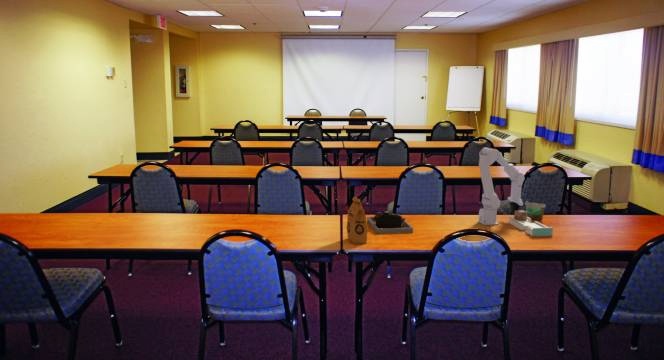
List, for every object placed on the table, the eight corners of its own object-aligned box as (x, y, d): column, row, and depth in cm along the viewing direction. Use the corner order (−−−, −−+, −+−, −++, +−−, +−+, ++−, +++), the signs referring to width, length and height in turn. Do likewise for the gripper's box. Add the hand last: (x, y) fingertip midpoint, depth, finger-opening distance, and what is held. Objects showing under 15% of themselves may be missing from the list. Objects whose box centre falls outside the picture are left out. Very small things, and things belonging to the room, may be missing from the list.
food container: (520, 217, 310) (521, 201, 308) (525, 216, 314) (526, 200, 312) (539, 221, 301) (541, 205, 299) (544, 220, 305) (546, 203, 303)
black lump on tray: (404, 225, 292) (404, 208, 291) (405, 231, 280) (405, 213, 278) (372, 224, 294) (373, 207, 292) (372, 230, 282) (373, 212, 280)
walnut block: (518, 220, 293) (518, 212, 292) (514, 218, 298) (514, 210, 297) (526, 220, 294) (527, 212, 293) (522, 218, 298) (522, 210, 298)
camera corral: (377, 233, 275) (377, 229, 274) (367, 220, 300) (367, 216, 300) (412, 232, 278) (413, 228, 277) (400, 219, 303) (400, 215, 302)
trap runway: (533, 236, 272) (533, 228, 271) (508, 222, 298) (509, 215, 297) (552, 235, 273) (553, 227, 272) (526, 222, 299) (527, 214, 298)
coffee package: (349, 245, 256) (350, 202, 251) (345, 237, 268) (346, 196, 264) (369, 244, 257) (370, 201, 253) (364, 237, 269) (364, 196, 265)
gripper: (528, 194, 293) (526, 217, 296) (516, 189, 308) (514, 211, 310) (517, 195, 292) (515, 218, 295) (505, 189, 307) (503, 211, 309)
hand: (514, 214), depth 303 cm, fingers closed
